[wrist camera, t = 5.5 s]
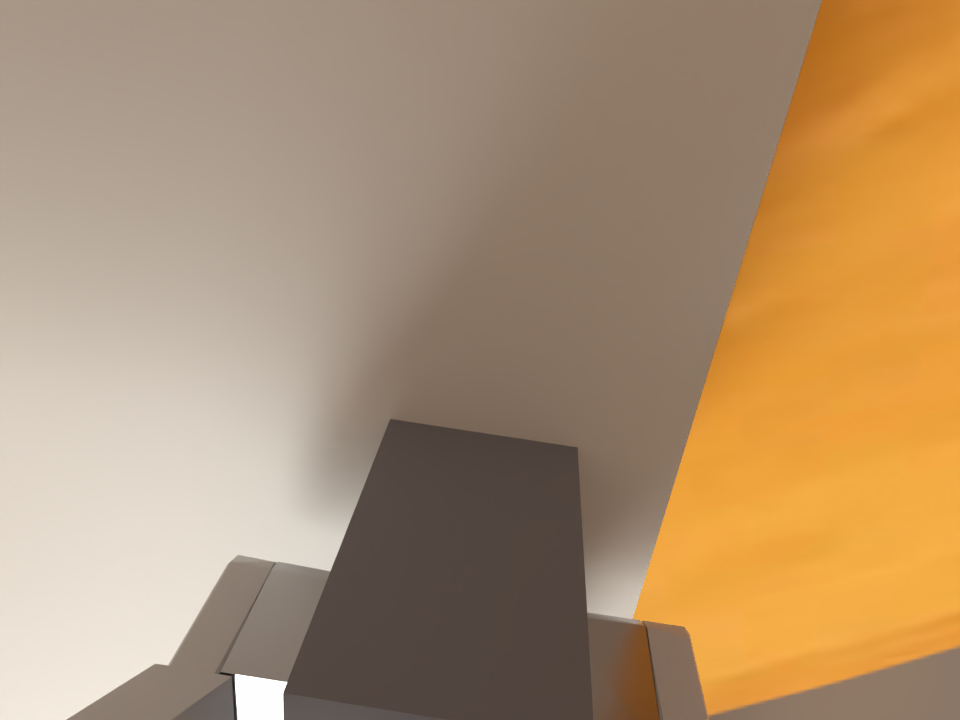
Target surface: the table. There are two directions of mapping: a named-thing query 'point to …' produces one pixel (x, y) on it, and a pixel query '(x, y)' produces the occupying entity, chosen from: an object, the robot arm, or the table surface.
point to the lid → (363, 325)
